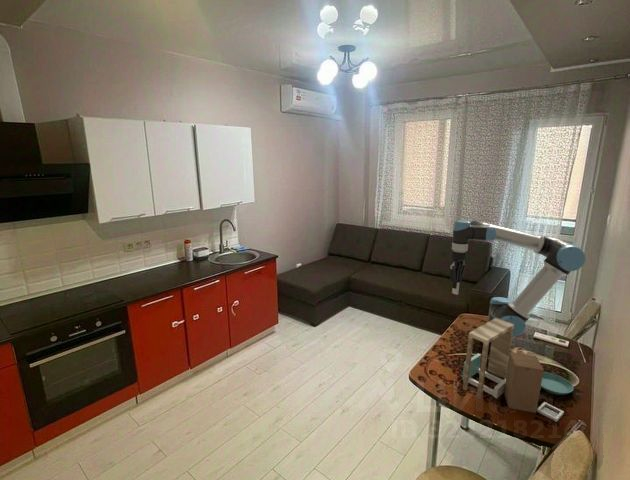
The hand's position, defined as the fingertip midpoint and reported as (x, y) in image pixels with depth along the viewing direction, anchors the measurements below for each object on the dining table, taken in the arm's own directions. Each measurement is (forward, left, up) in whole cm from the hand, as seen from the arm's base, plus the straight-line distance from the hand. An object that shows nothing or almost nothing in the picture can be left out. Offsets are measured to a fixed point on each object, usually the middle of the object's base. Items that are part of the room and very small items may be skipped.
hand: (455, 293), depth 181 cm
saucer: (-4, +48, -30) cm, 57 cm away
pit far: (+15, +54, -29) cm, 63 cm away
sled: (+18, +29, -29) cm, 45 cm away
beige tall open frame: (+18, +29, -29) cm, 45 cm away
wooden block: (+19, +44, -30) cm, 56 cm away
